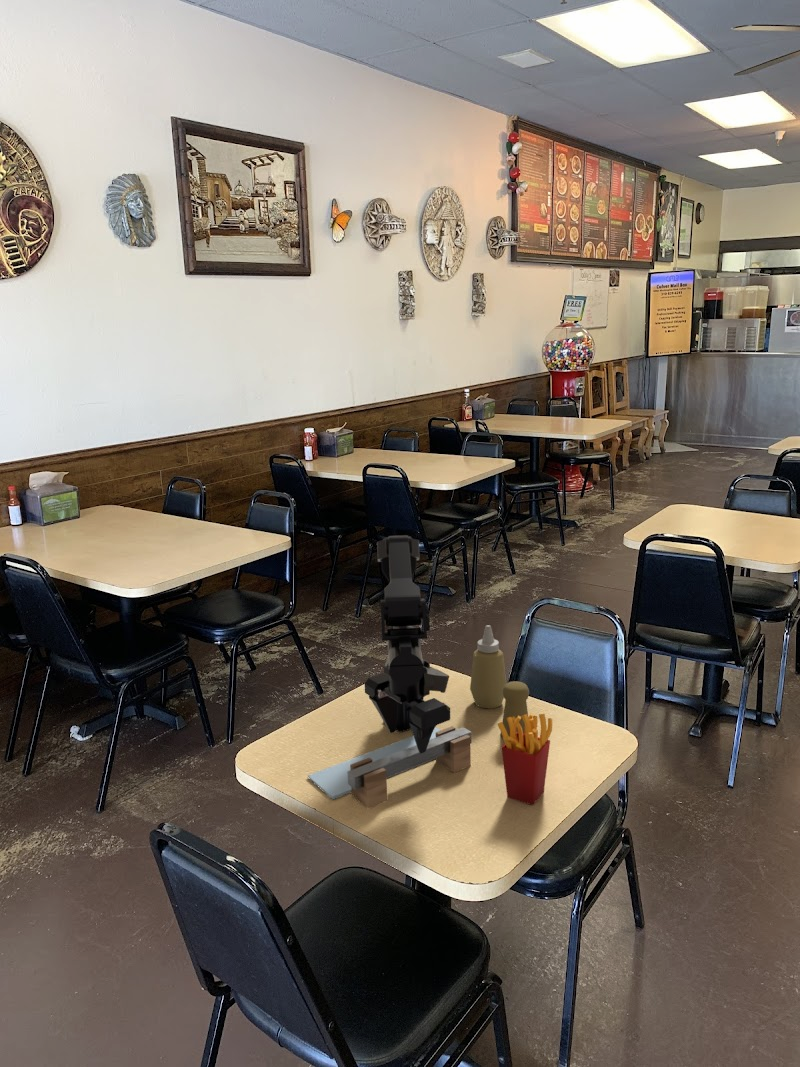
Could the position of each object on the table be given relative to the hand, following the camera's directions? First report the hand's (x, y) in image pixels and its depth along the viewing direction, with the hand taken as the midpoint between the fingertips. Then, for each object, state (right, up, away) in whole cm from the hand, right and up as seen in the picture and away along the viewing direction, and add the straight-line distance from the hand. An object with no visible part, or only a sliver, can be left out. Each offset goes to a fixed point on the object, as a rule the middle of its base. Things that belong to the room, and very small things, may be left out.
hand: (407, 742), depth 144 cm
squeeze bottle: (+18, 0, +32) cm, 37 cm away
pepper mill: (+22, -3, +18) cm, 29 cm away
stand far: (+9, -6, +8) cm, 13 cm away
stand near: (-7, -9, -3) cm, 12 cm away
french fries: (+21, -8, -2) cm, 22 cm away
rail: (+1, -4, +2) cm, 4 cm away
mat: (-4, -6, +9) cm, 11 cm away
